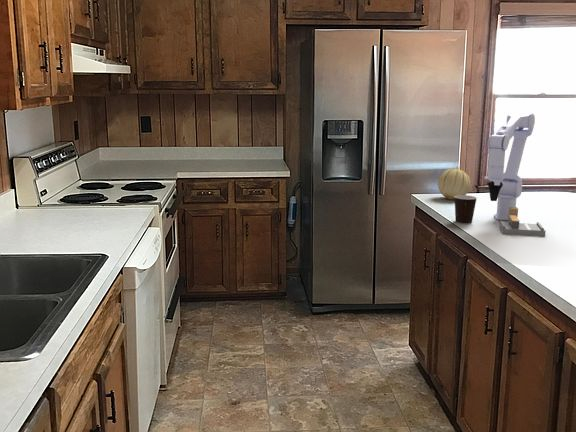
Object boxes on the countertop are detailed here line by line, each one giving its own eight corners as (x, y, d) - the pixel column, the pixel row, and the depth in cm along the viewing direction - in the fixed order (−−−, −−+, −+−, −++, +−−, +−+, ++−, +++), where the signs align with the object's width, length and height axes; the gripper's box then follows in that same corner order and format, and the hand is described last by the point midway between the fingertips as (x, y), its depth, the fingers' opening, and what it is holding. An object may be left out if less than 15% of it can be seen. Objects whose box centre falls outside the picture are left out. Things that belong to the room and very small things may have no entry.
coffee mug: (458, 218, 264) (459, 194, 261) (478, 221, 258) (480, 197, 256) (445, 223, 255) (447, 198, 253) (466, 226, 249) (467, 201, 247)
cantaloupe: (436, 201, 299) (437, 169, 296) (438, 195, 313) (440, 164, 309) (468, 203, 295) (471, 170, 291) (469, 197, 308) (471, 166, 305)
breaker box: (498, 227, 249) (499, 220, 248) (539, 229, 246) (540, 222, 245) (502, 234, 238) (503, 226, 238) (545, 236, 235) (545, 228, 235)
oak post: (507, 224, 254) (509, 206, 252) (515, 224, 253) (517, 207, 252) (508, 225, 251) (510, 208, 249) (516, 226, 250) (518, 208, 249)
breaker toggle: (508, 222, 247) (509, 215, 246) (515, 223, 246) (515, 215, 246) (511, 228, 238) (512, 220, 237) (518, 228, 238) (519, 220, 237)
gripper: (483, 163, 254) (481, 196, 257) (487, 168, 240) (484, 203, 243) (502, 163, 253) (499, 197, 256) (507, 169, 239) (504, 204, 242)
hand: (493, 200), depth 249 cm, fingers closed
